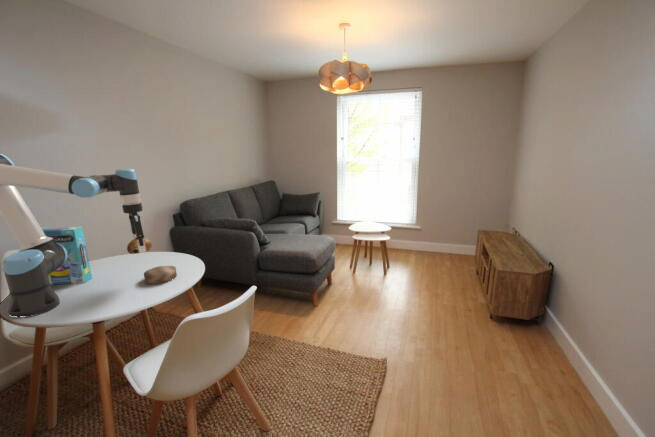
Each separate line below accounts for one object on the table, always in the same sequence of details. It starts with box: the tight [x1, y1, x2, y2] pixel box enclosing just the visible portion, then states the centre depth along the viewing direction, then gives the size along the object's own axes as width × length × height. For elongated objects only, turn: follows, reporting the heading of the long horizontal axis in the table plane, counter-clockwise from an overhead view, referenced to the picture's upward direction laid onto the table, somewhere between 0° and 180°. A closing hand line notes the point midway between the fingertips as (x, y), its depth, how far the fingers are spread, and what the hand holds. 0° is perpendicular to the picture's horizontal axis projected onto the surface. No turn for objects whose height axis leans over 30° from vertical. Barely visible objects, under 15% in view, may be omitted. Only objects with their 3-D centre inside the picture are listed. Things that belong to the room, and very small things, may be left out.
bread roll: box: [126, 237, 153, 255], centre depth 143 cm, size 10×10×8 cm
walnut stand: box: [143, 265, 178, 286], centre depth 151 cm, size 14×14×4 cm
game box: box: [41, 226, 93, 286], centre depth 147 cm, size 20×6×27 cm, turn 95°
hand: (140, 249), depth 144 cm, fingers closed on bread roll, 10 cm apart
